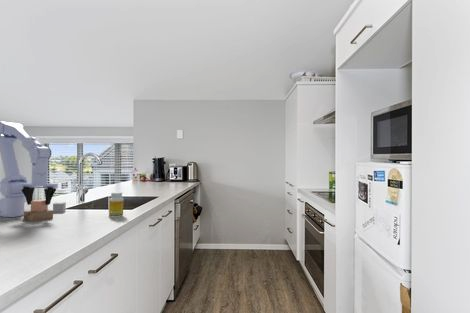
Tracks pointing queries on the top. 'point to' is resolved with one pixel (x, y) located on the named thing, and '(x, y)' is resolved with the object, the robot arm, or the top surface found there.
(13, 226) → the top surface
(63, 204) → the grey cube
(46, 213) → the walnut block
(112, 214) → the supplement bottle
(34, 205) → the terracotta cube
